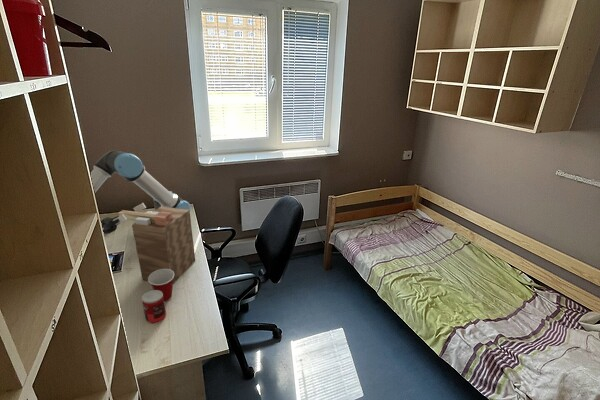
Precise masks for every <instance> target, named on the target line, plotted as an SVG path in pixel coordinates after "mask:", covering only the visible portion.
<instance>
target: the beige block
mask: <svg viewBox="0 0 600 400" xmlns="http://www.w3.org/2000/svg"><path fill="white" fill-rule="evenodd" d="M123 214H124V216H125V217H126V218H127V219H126V221H127V220H128V221H135V219H136V218H137V217H143V218H150V221H151V223H155V224H156V225H162V226H166V225H168V224H169V223H170V222H172V221H173V217H172V213H171V212H163V211H162V212H161V213H159V214H151V213H146V212H141V211H139V212H134V211H130V210H124V209H122V210H120V211H118V216H121V215H123Z"/></svg>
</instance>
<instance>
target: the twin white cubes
mask: <svg viewBox="0 0 600 400" xmlns="http://www.w3.org/2000/svg"><path fill="white" fill-rule="evenodd" d="M153 211H154V210H153ZM153 211H151V210H147V211H145V213H151V214H159V212H153ZM134 221H135V222H134V223H136V224H139V225H147V226H148V225H149V224H151V221H150V218H143V217H137V218H136V219H135V220H134Z"/></svg>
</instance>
